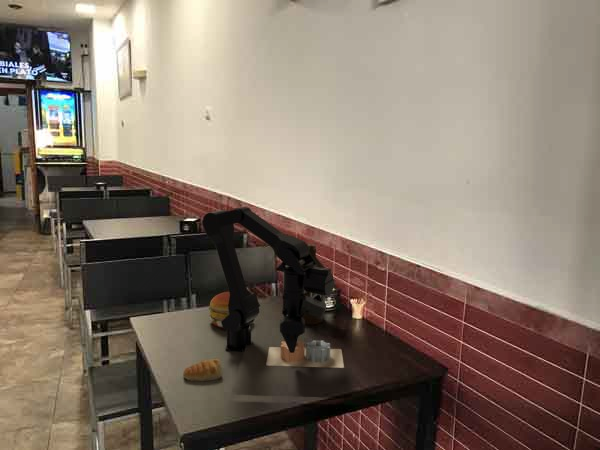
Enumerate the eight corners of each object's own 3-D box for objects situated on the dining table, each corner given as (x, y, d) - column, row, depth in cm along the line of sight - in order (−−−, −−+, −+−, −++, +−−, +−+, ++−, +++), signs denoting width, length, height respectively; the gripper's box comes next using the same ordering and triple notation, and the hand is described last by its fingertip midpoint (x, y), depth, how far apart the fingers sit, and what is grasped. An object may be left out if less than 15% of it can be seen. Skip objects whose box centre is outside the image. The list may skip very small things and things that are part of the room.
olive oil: (285, 318, 163) (287, 244, 158) (308, 311, 170) (310, 240, 166) (308, 328, 155) (311, 250, 151) (331, 320, 163) (334, 245, 158)
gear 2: (305, 362, 130) (306, 346, 129) (306, 351, 136) (306, 336, 135) (330, 363, 130) (330, 346, 129) (329, 352, 136) (329, 337, 135)
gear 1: (279, 361, 130) (280, 349, 129) (281, 351, 136) (281, 338, 136) (304, 362, 130) (304, 349, 129) (304, 351, 136) (304, 339, 136)
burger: (253, 316, 165) (253, 287, 163) (249, 332, 152) (249, 301, 150) (212, 315, 165) (212, 286, 163) (205, 331, 151) (204, 300, 150)
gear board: (266, 369, 128) (266, 348, 127) (269, 351, 139) (269, 331, 138) (343, 372, 128) (344, 351, 127) (341, 353, 139) (341, 334, 138)
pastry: (186, 386, 119) (185, 371, 119) (181, 373, 125) (180, 359, 125) (224, 379, 123) (224, 364, 122) (217, 367, 129) (217, 353, 128)
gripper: (326, 301, 120) (324, 361, 123) (323, 279, 139) (321, 332, 142) (280, 300, 120) (279, 360, 123) (283, 278, 139) (282, 330, 142)
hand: (292, 344), depth 133 cm, fingers open, 9 cm apart
